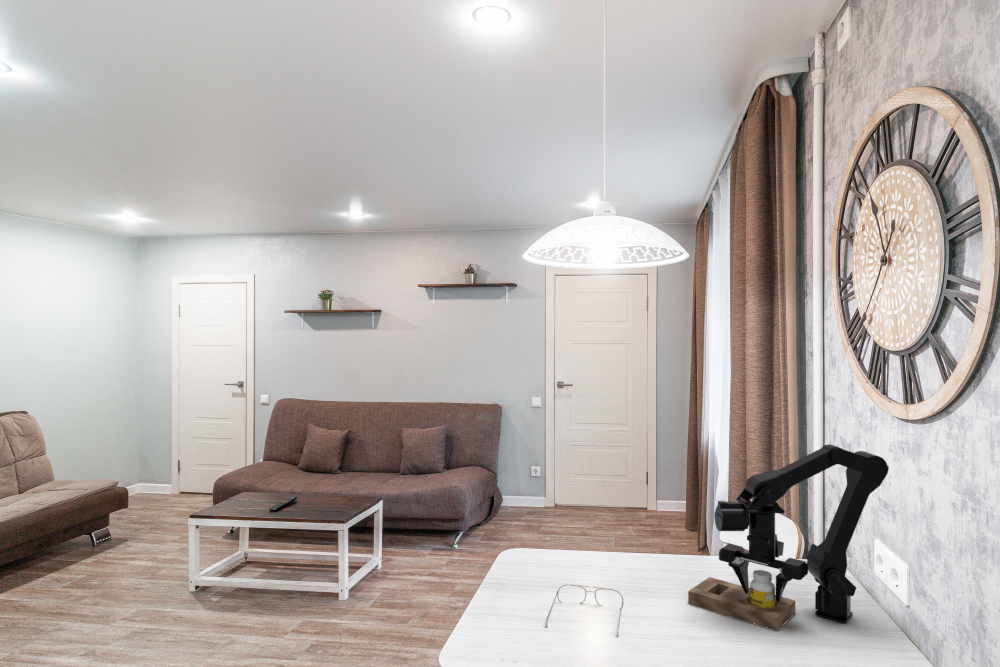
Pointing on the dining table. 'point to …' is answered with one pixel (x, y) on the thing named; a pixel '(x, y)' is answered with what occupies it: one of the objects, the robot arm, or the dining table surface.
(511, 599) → the dining table surface
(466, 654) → the dining table surface
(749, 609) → the socket board
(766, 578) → the supplement bottle
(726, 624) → the dining table surface
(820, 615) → the robot arm
